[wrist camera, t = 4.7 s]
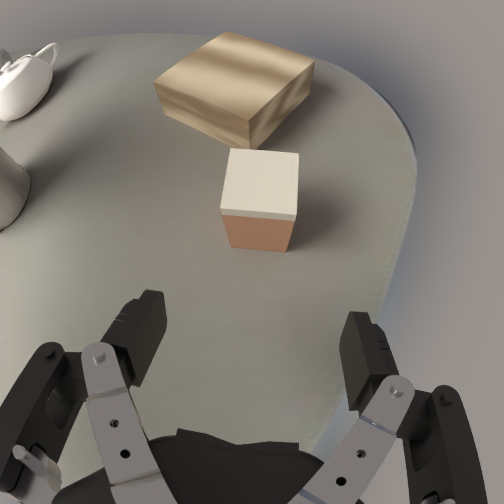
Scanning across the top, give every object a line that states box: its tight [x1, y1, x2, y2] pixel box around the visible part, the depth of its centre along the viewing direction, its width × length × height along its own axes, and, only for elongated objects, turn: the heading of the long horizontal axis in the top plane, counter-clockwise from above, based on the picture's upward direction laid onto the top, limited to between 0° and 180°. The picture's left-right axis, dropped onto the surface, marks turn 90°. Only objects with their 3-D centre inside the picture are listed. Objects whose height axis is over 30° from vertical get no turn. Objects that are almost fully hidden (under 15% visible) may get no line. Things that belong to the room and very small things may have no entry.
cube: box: [220, 148, 299, 252], centre depth 23 cm, size 5×5×8 cm
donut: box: [0, 49, 13, 75], centre depth 38 cm, size 10×4×10 cm, turn 28°
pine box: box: [153, 32, 315, 150], centre depth 30 cm, size 13×13×6 cm
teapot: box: [0, 43, 59, 121], centre depth 31 cm, size 22×14×11 cm, turn 140°
